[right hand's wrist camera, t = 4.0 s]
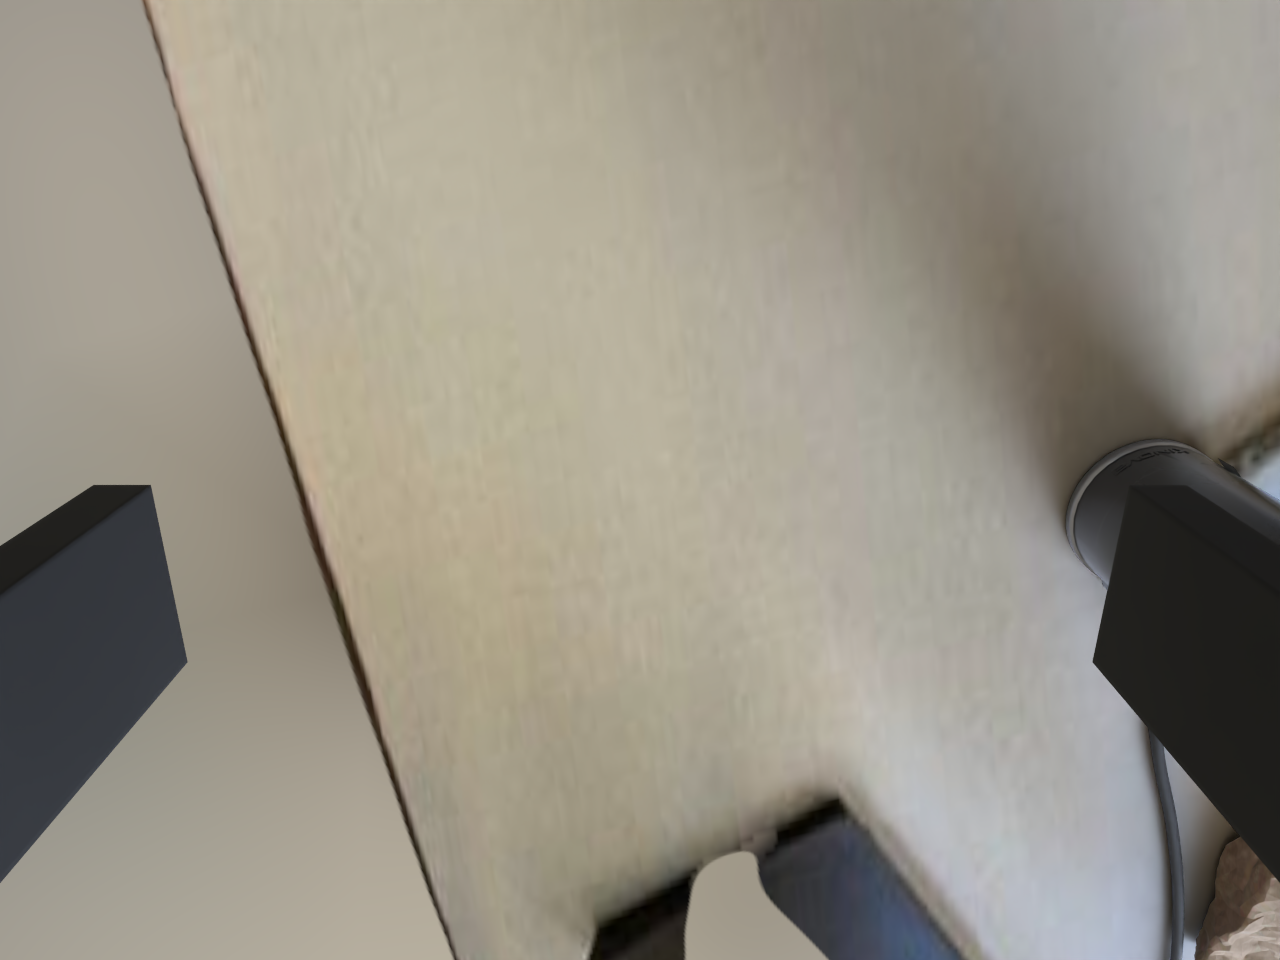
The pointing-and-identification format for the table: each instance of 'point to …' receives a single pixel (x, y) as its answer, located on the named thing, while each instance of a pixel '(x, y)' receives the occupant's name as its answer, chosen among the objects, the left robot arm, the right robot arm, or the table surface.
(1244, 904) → the stone
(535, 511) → the table surface
